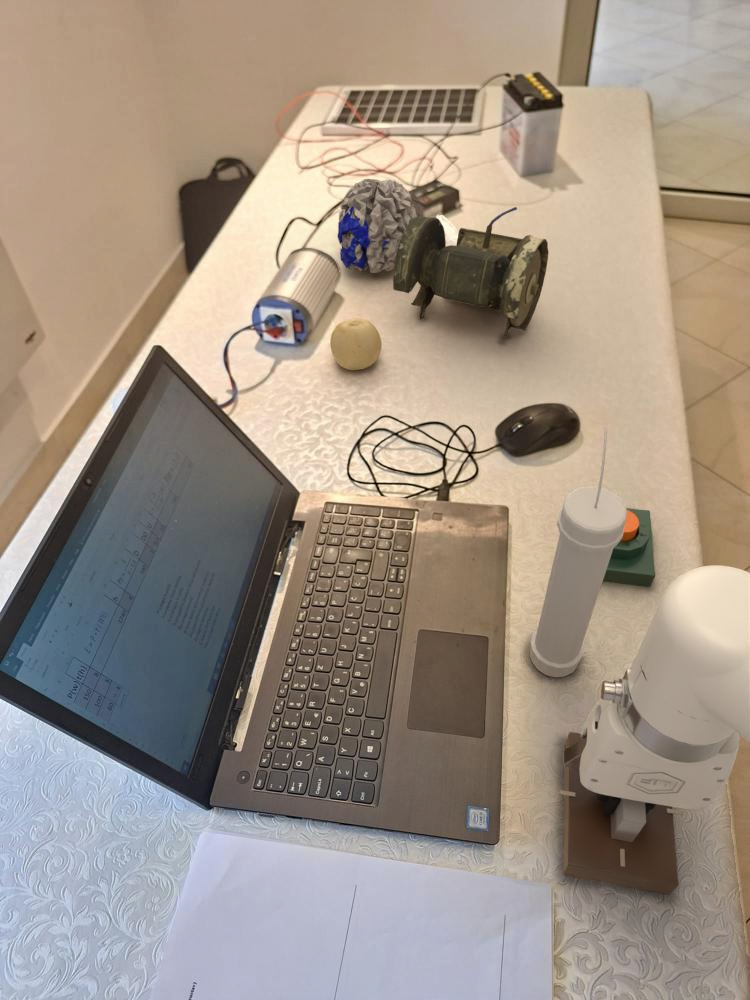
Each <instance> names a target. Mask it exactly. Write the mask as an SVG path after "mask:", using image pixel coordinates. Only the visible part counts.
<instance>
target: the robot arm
mask: <svg viewBox="0 0 750 1000" xmlns="http://www.w3.org/2000/svg"><path fill="white" fill-rule="evenodd" d="M600 689H601V690H600V696H601V697H600V699H599V700H598V701H597V702H596V704H595V705H594V707H592V709H591V711H590V713H589V714H588V716H587V718H586V720H585V721H584V724H583V726H582V729H581V731H580V734H581V739H582V740H581V741H579V742H577V743H576V744H574V745H572V746H571V747H569V748H567V749H566V750H565V749H563V762H562V763H563V764H562V765H563V767H564V768H565V767H566V768H569V769H571V770H574V771H577V772H580V781H581V784H582V785H583V786H584V787H585V788H587V789H588V790H590V791H592V792H595V793H597V800H600V801H603V814H604V815H608V816H610V815H611V814H613V813H614V811H615V809H616V807H617V806H618V804H619V802H620V800H621V798H624V799H630V800H635V801H641V802H645V810H646V815H647V813H648V812H649V810H650V809H653V808H654V807H655V805H656V804H659V805H665V806H671V807H672V808H677V809H685V810H704V809H706V808H707V807H709V806H710V805H712V804H713V803H714V802H715V801H716V800H717V798H718V796H719V795H720V794H721V793H722V791H723V789H724V787H725V786H726V783H727V782H728V781H729V778H730V776H731V773H732V771H733V768H734V765H735V761H736V759H737V756H738V753H739V752H738V751H739V747H740V741H741V737H742V738H743V739H744V740H745V741H746V742H747V743H748V744H750V572H749V571H746V570H744V569H741V568H738V567H733V566H728V565H720V564H717V565H712V564H710V565H703V566H699V567H694V568H692V569H690V570H687V571H685V572H683V573H682V574H680V575H679V576H678V577H676V578H675V579H674V580H673V581H672V582H671V583H670V584H669V585H668V586H667V587H666V590H665V591H664V593H663V595H662V597H661V599H660V600H659V602H658V605H657V608H656V610H655V612H654V614H653V616H652V618H651V621H650V623H649V626H648V628H647V630H646V632H645V635H644V637H643V639H642V641H641V643H640V646H639V648H638V651H637V652H636V655H635V657H634V659H633V661H632V664H631V666H630V668H626V670H625V672H624V674H623V676H622V678H618V680H613V681H608V680H607V681H606V680H603V681H602V683H601V688H600Z"/></svg>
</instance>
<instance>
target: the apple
mask: <svg viewBox="0 0 750 1000" xmlns="http://www.w3.org/2000/svg"><path fill="white" fill-rule="evenodd" d="M329 342H330V343H329V344H330V345H329V346H330V351H331V354H332V356H333V358H334V360H335V361H336V363H337V364H338V365H339V366H341V367H342V368H344V369H346V370H349V371H358V370H364V369H367V368H370V367H371V366H372V365H374V363H376V362H377V360H378V359H379V357H380V355H381V352H382V339H381V335H380V333H379V330H378V329H377V327H376V326H375V324H373V323H372V322H371V321H370V320H369V319H366V318H350V319H347V320H346V319H345V320H344V321H342V322H340V323H338V324H337V325H336V326H335V327H334V329H333V330H332V332H331V335H330V341H329Z"/></svg>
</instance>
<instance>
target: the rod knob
mask: <svg viewBox="0 0 750 1000" xmlns="http://www.w3.org/2000/svg"><path fill="white" fill-rule="evenodd" d="M645 823H646V810H645V802H641V801H635V800H630V799H624V798H621V800H620V802H619V804H618V806H617V807H616V809H615V811H614V813H613V814H611V839H616V840H622V841H627V842H633V841H634V839H635V838H636V836H637V835H638V834H639V832H640V831H641V829H642V828H643V826H644V825H645Z"/></svg>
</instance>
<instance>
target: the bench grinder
mask: <svg viewBox="0 0 750 1000" xmlns="http://www.w3.org/2000/svg"><path fill="white" fill-rule="evenodd" d="M517 210H518V207H517V206H514V207H512V208H510V209H508V210H506V211H504V212H502V213H500V214H498V215H497V216H495V217H494V218H493V219H492V220H491V221H490V222H489V224H488V225H487V226H486V229H485V231H481V230H476V229H471V228H466V227H460V228H459V230H458V232H459V233H458V239H457V245H456V246H453V245H450V246H446V241H445V232H444V227H443V225H442V224H441V222H440V220H439V219H438V218H436V216H433V217H428V216H422V215H417V217H415V218H414V219H413V220H412V221H411V222H410V223H409V224H408V226H407V227H406V229H405V231H404V233H403V235H402V237H401V240H400V243H399V246H398V249H397V253H396V258H395V264H394V268H393V274H392V275H393V276H392V287H393V289H392V290H394V291H397V292H402V293H406V294H410V293H411V292H412V290H413V289H414V288H415V286H416V285H417V283H418V284H419V285H420V287H419V290H418V291H417V294H416V296H415V298H414V300H413V301H412V302H411V303H410V304H411V306H416V307H419V308H420V311H419V320H424V318H425V315H426V311H427V309H428V307H429V306H430V305H431V303H432V301H433V299H434V297H435V296H437V297H439V298H441V299H445V300H449V301H452V302H457V303H462V304H466V305H470V306H476V307H477V306H478V307H483V308H487V309H492V310H497V311H499V315H500V317H504V318H507V322H506V324H505V329H504V332H503V337H502V339H506V337H507V336H508V333H509V331H510V330H511V328H512V329H519V330H522V331H526V330H527V328H528V327H529V325H530V323H531V321H532V318H533V316H534V313H535V311H536V308H537V305H538V303H539V301H540V297H541V294H542V290H543V288H544V283H545V277H546V273H547V268H548V260H549V247H548V245H549V244H548V240H547V239H546V238H541V237H537V236H533V235H531V234H527V235H525V236H524V237H523V238H519V237H514V236H508V235H503V234H498V233H494V232H493V233H492V231H493V225H494V223H495V222H496V221H498V220H499V219H500V218H501V217H503V216H505V215H507V214H509V213H511V212H514V211H517Z"/></svg>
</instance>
